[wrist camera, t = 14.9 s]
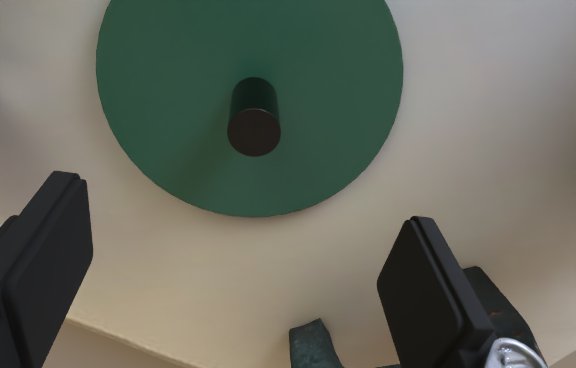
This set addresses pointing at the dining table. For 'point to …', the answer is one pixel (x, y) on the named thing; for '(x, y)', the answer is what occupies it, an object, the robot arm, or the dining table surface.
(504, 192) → the dining table surface
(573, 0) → the dining table surface
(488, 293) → the ceramic cat
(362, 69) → the pot lid
